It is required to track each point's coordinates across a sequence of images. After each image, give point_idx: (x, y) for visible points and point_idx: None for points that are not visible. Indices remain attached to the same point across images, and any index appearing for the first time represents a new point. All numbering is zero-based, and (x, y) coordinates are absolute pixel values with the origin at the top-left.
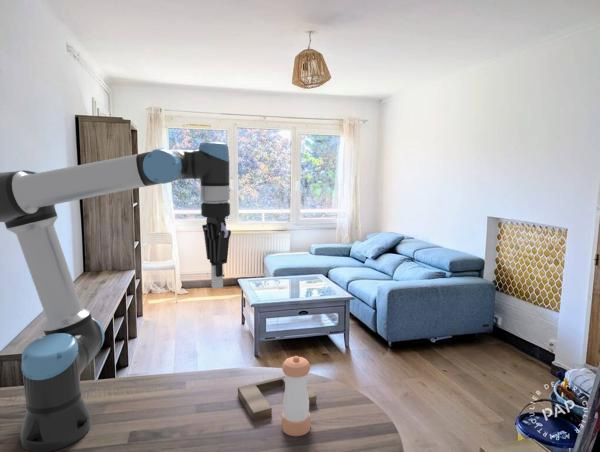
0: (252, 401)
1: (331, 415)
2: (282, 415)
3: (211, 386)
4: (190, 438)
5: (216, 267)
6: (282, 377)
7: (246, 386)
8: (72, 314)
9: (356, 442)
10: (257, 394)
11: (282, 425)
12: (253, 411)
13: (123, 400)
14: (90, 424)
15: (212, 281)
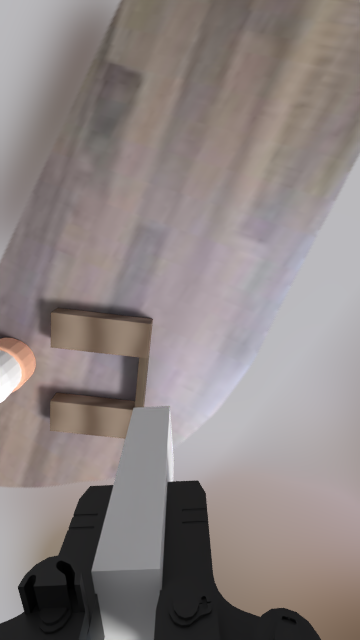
0: (87, 326)
1: (16, 423)
2: (5, 349)
3: (213, 286)
4: (62, 184)
5: (82, 565)
6: None
7: (144, 340)
8: None
9: None
10: (106, 345)
11: (8, 341)
12: (55, 313)
13: (271, 87)
14: None
15: (151, 433)
